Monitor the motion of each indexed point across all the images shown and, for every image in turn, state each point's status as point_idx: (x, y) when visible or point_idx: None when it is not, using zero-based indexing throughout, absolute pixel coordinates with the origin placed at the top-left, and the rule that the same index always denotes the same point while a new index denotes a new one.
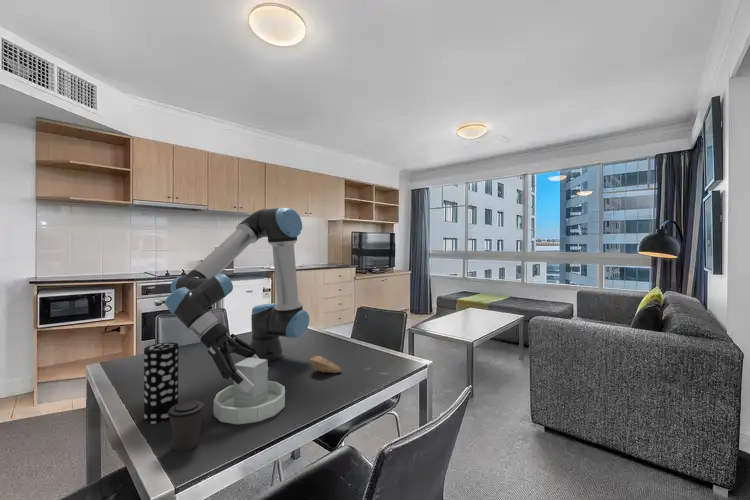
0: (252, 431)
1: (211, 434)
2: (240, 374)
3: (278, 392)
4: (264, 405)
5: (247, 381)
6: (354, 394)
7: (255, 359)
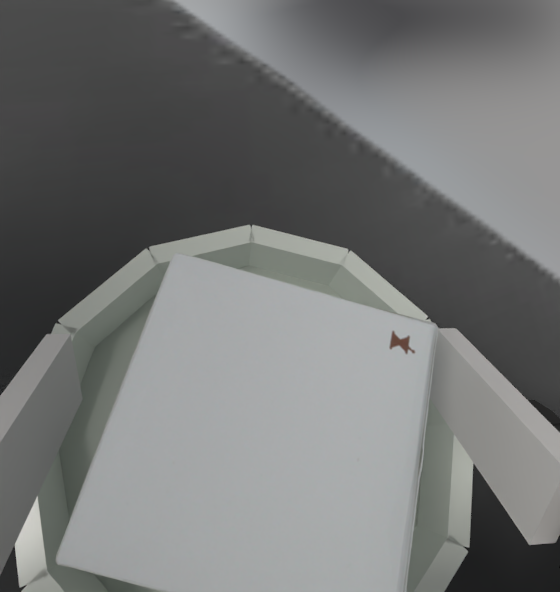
0: (471, 332)
1: None
2: (548, 427)
3: (135, 305)
4: (398, 292)
5: (489, 365)
6: (122, 3)
7: (176, 403)
